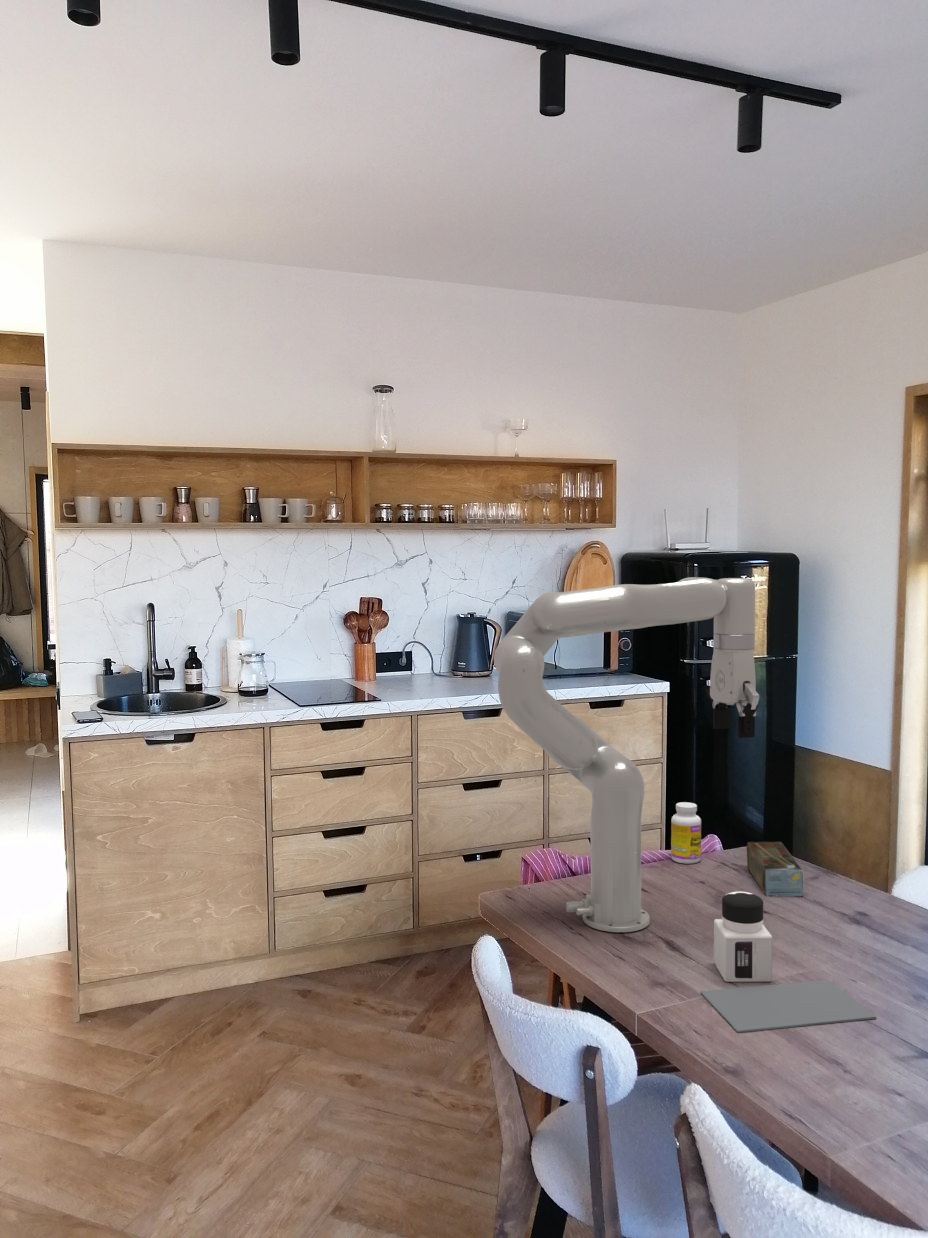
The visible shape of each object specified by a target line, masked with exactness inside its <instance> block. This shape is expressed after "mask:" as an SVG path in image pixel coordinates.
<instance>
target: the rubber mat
mask: <svg viewBox="0 0 928 1238" xmlns="http://www.w3.org/2000/svg"><path fill="white" fill-rule="evenodd" d="M700 995H702V997H703V998H704V1000H706V1001H707V1002H708V1003H709V1004H710V1006H712V1007H713V1009H715V1011H716V1012H717V1013H718V1014H719V1015H720V1016H721V1017H722V1018H723V1019H724V1020H725V1021H726V1023H727V1024H729V1025H730V1026H731V1028H732V1029H733V1030H735V1032H736V1033H738V1034H739V1033H741V1034H742V1033H747V1032H748V1033H749V1032H751V1033H752V1032H758V1031H769V1030H779V1029H790V1028H797V1027H798V1028H799V1027H808V1026H816V1025H819V1026H820V1025H828V1024H829V1025H830V1024H838V1023H848V1022H854V1021H855V1022H857V1021H868V1020H876V1019H877V1016H876V1015H875V1014H873V1013H872V1012H871V1011H870V1010H868V1009H867V1008H866V1007H864V1006H863V1005H862V1004H861V1003H859V1002H858V1001H857V1000H856V999H854V998H853V997H852V996H850V995H849V994H848V993H846V992H845V991H844V990H843V989H841V988H840V987H839V986H838V985H836V984H835V983H834V982H833V981H831V980H830V979H821V980H820V979H819V980H811V981H801V982H800V981H799V982H789V983H788V982H786V983H779V984H769V985H768V984H767V985H756V986H746V987H744V986H743V987H736V988H735V987H734V988H725V989H712V990H705V991H704V990H702V991H700Z"/></svg>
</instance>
